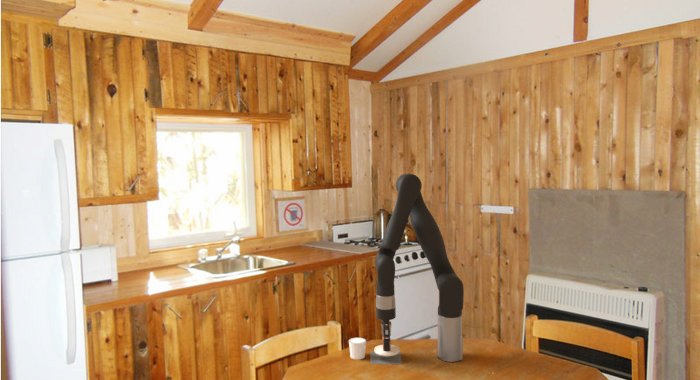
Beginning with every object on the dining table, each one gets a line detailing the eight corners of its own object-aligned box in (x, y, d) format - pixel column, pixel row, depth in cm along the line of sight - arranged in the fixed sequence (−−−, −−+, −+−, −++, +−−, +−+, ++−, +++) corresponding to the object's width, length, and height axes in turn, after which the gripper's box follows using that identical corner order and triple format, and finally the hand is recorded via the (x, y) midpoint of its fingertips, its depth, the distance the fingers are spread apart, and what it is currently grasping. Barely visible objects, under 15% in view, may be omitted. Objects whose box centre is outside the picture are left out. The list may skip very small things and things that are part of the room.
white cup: (366, 361, 195) (366, 343, 195) (348, 361, 195) (348, 343, 195) (366, 354, 202) (366, 337, 201) (349, 354, 202) (348, 337, 202)
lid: (399, 346, 202) (398, 333, 201) (400, 356, 192) (400, 342, 191) (373, 346, 202) (373, 333, 202) (374, 356, 192) (373, 343, 192)
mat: (400, 352, 203) (400, 351, 203) (402, 365, 191) (402, 364, 191) (370, 352, 203) (370, 351, 203) (370, 365, 191) (370, 363, 191)
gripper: (396, 311, 188) (397, 356, 190) (394, 300, 202) (395, 342, 204) (376, 311, 189) (377, 356, 190) (375, 300, 203) (376, 342, 204)
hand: (386, 348), depth 197 cm, fingers closed on lid, 3 cm apart
